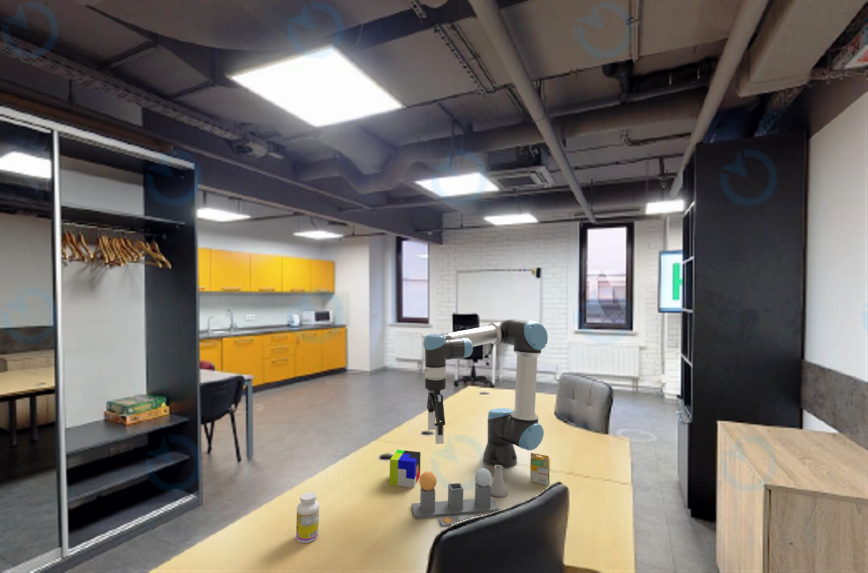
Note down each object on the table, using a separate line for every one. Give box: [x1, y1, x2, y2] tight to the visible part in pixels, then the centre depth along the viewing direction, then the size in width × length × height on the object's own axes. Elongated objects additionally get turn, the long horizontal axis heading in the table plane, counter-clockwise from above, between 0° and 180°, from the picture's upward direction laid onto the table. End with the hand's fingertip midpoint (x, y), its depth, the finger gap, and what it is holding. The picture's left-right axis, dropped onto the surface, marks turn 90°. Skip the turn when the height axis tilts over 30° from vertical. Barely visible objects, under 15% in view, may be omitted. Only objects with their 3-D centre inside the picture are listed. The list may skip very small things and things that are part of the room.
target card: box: [438, 514, 481, 528], centre depth 134 cm, size 14×4×1 cm, turn 101°
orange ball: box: [418, 471, 437, 491], centre depth 140 cm, size 6×6×6 cm
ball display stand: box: [411, 481, 501, 520], centre depth 142 cm, size 30×8×8 cm, turn 101°
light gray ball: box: [474, 467, 493, 487], centre depth 143 cm, size 6×6×6 cm
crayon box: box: [529, 452, 551, 486], centre depth 163 cm, size 7×3×12 cm, turn 65°
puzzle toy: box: [388, 449, 421, 489], centre depth 162 cm, size 10×10×10 cm
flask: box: [490, 465, 508, 498], centre depth 154 cm, size 7×7×10 cm
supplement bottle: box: [295, 491, 320, 544], centre depth 124 cm, size 7×7×13 cm
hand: (435, 436), depth 146 cm, fingers open, 13 cm apart
